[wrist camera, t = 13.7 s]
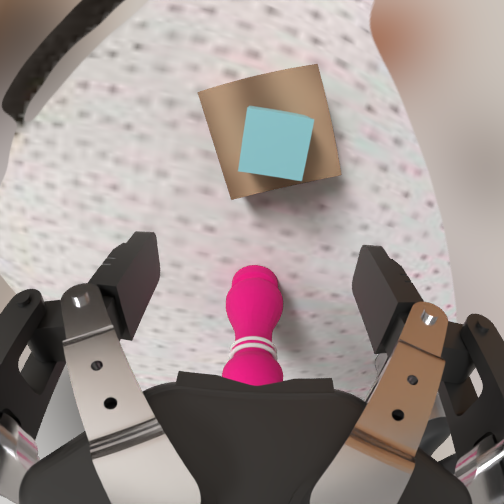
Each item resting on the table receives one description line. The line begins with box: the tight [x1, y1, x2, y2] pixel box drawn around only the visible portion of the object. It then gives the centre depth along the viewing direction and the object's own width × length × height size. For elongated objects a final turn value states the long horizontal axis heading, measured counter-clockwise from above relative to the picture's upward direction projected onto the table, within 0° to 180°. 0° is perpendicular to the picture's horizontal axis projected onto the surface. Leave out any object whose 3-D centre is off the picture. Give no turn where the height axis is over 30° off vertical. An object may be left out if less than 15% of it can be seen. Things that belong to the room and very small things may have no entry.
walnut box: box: [198, 64, 341, 200], centre depth 28 cm, size 11×11×6 cm
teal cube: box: [238, 106, 314, 181], centre depth 23 cm, size 5×5×5 cm
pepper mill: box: [222, 265, 283, 386], centre depth 32 cm, size 7×7×20 cm
